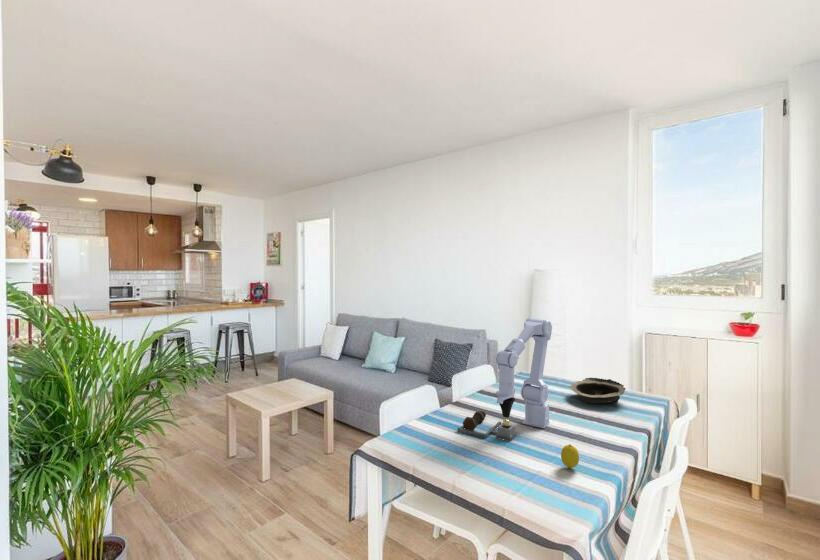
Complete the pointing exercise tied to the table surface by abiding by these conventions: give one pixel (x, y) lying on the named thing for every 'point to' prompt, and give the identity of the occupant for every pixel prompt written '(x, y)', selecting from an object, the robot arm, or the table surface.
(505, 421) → the press pin
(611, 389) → the stone bowl
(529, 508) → the table surface
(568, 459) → the lemon
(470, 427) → the bolt
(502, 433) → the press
